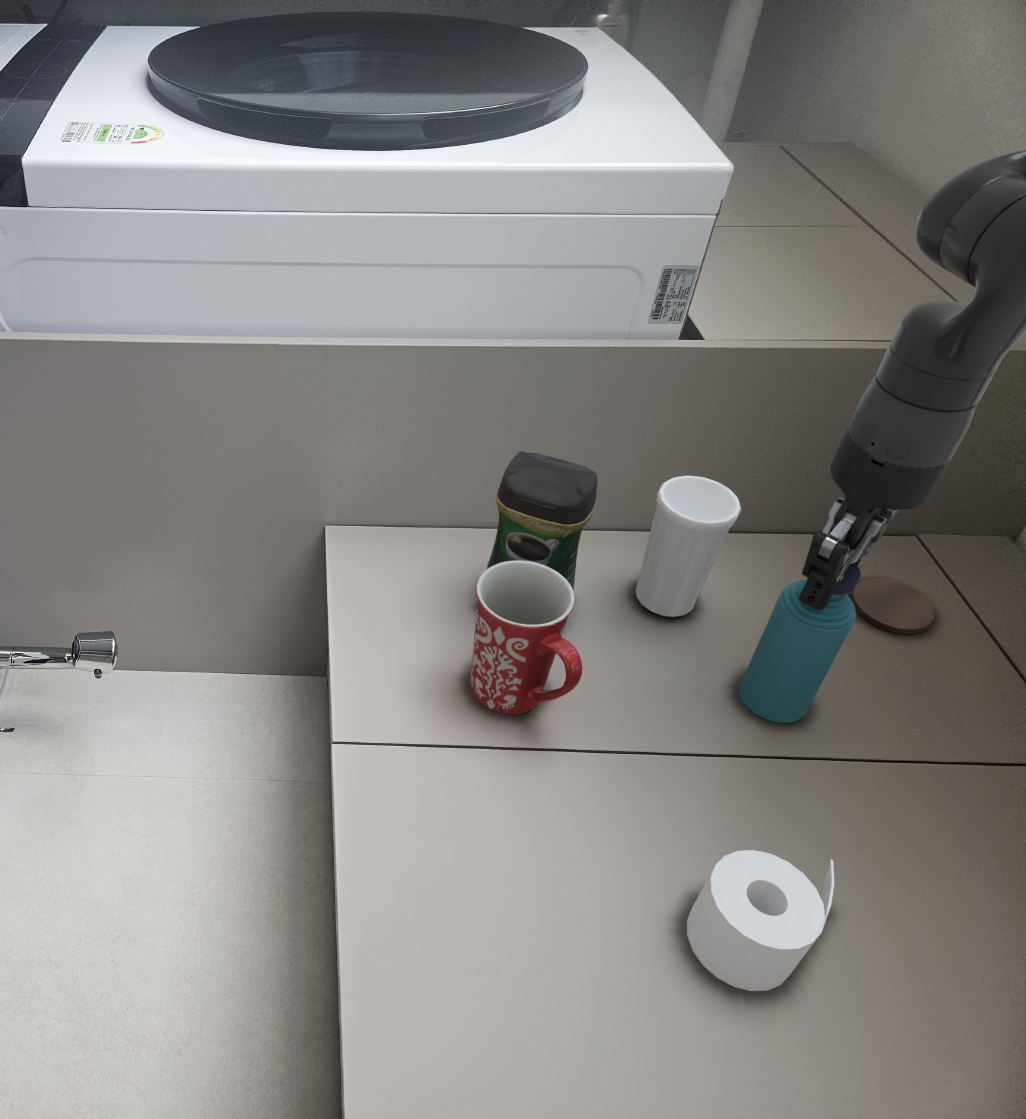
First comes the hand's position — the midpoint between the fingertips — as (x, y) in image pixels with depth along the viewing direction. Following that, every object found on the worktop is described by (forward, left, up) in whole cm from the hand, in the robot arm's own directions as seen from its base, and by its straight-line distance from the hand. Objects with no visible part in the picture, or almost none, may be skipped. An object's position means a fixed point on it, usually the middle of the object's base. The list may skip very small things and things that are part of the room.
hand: (822, 592), depth 88 cm
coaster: (-6, -21, -15) cm, 26 cm away
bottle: (0, 0, -15) cm, 15 cm away
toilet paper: (-8, +26, -15) cm, 31 cm away
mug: (+20, +16, -15) cm, 30 cm away
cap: (0, 0, +3) cm, 3 cm away
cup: (+14, -7, -15) cm, 21 cm away
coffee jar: (+26, +3, -15) cm, 30 cm away
